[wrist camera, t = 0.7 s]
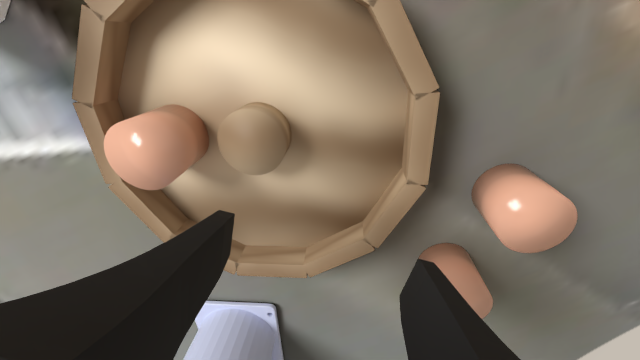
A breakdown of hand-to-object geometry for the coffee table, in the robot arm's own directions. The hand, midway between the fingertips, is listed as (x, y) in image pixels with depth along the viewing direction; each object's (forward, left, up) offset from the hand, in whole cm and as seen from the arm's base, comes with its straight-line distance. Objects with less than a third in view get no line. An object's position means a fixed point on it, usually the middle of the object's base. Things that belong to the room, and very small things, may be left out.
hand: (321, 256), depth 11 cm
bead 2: (-9, -8, -10) cm, 16 cm away
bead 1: (+2, +10, -9) cm, 14 cm away
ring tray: (+2, +5, -10) cm, 11 cm away
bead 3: (-2, -11, -10) cm, 15 cm away
